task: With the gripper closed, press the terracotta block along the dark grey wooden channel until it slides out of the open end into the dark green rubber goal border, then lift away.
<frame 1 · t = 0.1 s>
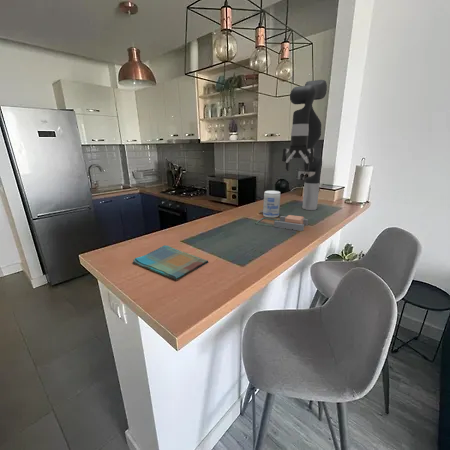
hand: (296, 171, 119), 29 cm above the countertop, fingers open, 8 cm apart
supplement tub: (271, 216, 150), on the countertop
goal: (267, 222, 138), on the countertop
dish towel: (170, 264, 93), on the countertop
block: (293, 226, 131), on the countertop
chute: (290, 225, 132), on the countertop
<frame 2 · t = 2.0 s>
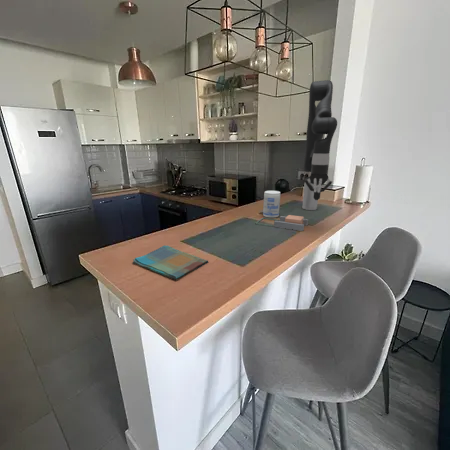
hand: (316, 199, 122), 15 cm above the countertop, fingers closed
nothing on the countertop moved.
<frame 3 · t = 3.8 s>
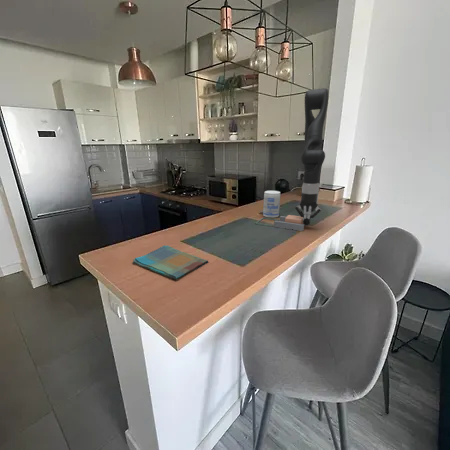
hand: (306, 225, 128), 1 cm above the countertop, fingers closed
block: (293, 226, 131), on the countertop, touching gripper
everything else where it was.
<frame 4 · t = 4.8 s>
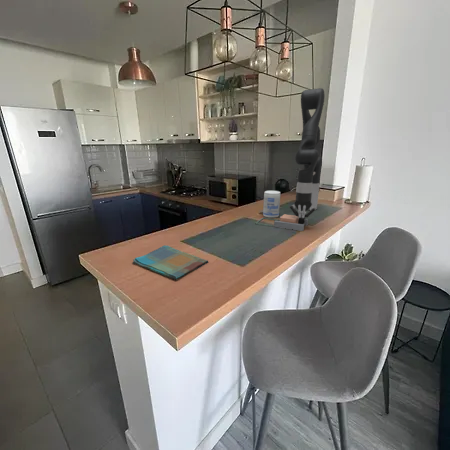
hand: (301, 224, 129), 2 cm above the countertop, fingers closed
block: (288, 225, 133), on the countertop, touching gripper
everything else where it was.
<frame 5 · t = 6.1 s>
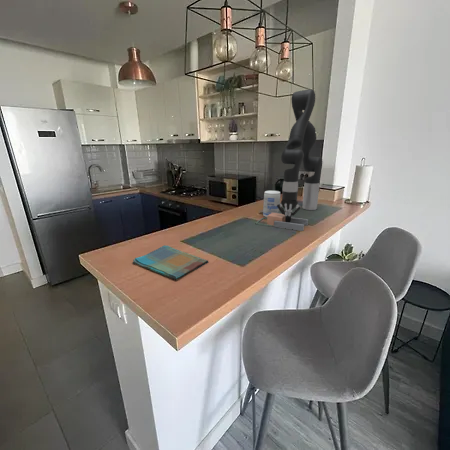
hand: (287, 222, 132), 2 cm above the countertop, fingers closed
block: (276, 223, 136), on the countertop
everything else where it was.
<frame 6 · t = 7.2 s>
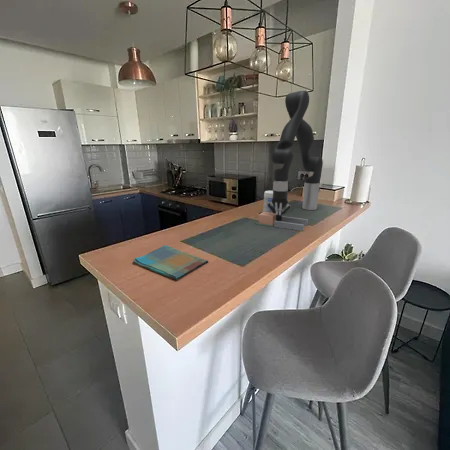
hand: (278, 221, 135), 2 cm above the countertop, fingers closed
block: (267, 222, 138), on the countertop, touching gripper
everything else where it was.
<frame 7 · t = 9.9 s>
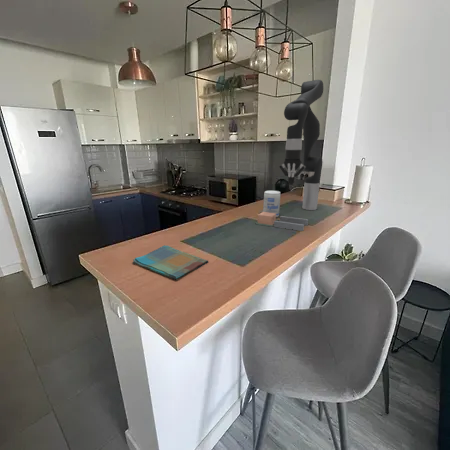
hand: (291, 184, 126), 22 cm above the countertop, fingers closed
block: (266, 222, 138), on the countertop
everything else where it was.
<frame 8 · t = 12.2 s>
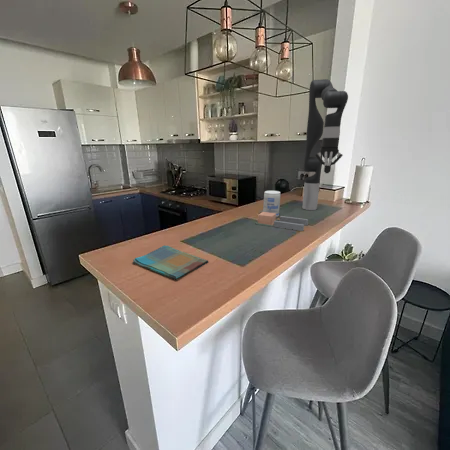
hand: (326, 173, 126), 27 cm above the countertop, fingers closed
nothing on the countertop moved.
at the end: block inside the target area on the goal (0.2 cm from its centre), point 0.0 cm above the goal's base; block tilted 0°; block touching countertop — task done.
